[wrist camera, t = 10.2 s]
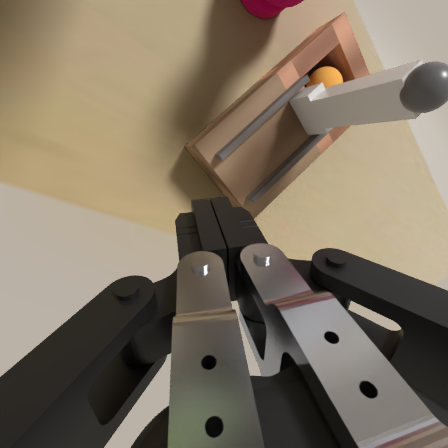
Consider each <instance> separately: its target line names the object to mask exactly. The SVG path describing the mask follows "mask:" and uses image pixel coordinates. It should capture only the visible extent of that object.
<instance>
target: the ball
mask: <svg viewBox="0 0 448 448" xmlns="http://www.w3.org/2000/svg"><path fill="white" fill-rule="evenodd" d="M309 79H310V81H309V82H308V83H307V84H306V87H309V86H312V85H316V84H319V83H323V85H324V87H325V88H327V87H330V86H334V85H337V84H341V83H343V78H342V75H341V73H340V72H339V71H338V70H337V69H335V68H333V67H329V66H325V67H321V68H319V69H317V70H316V71H314V72H313V73H312V74H311V76H310V77H309Z"/></svg>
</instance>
